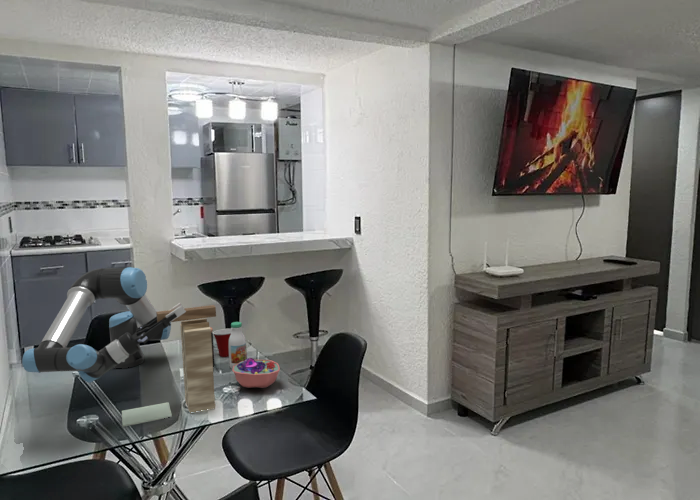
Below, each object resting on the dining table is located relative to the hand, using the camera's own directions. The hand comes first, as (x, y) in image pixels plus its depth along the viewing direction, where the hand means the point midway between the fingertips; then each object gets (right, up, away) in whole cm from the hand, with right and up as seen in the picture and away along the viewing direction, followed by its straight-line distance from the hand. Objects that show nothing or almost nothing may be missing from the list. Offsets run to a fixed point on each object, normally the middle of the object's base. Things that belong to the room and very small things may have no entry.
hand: (183, 307), depth 184 cm
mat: (-13, -38, -1) cm, 40 cm away
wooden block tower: (+4, -37, +7) cm, 38 cm away
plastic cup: (+1, -29, +60) cm, 67 cm away
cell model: (+22, -35, +23) cm, 47 cm away
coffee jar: (-5, -32, +42) cm, 53 cm away
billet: (+1, -4, +1) cm, 5 cm away
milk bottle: (+10, -32, +45) cm, 56 cm away
